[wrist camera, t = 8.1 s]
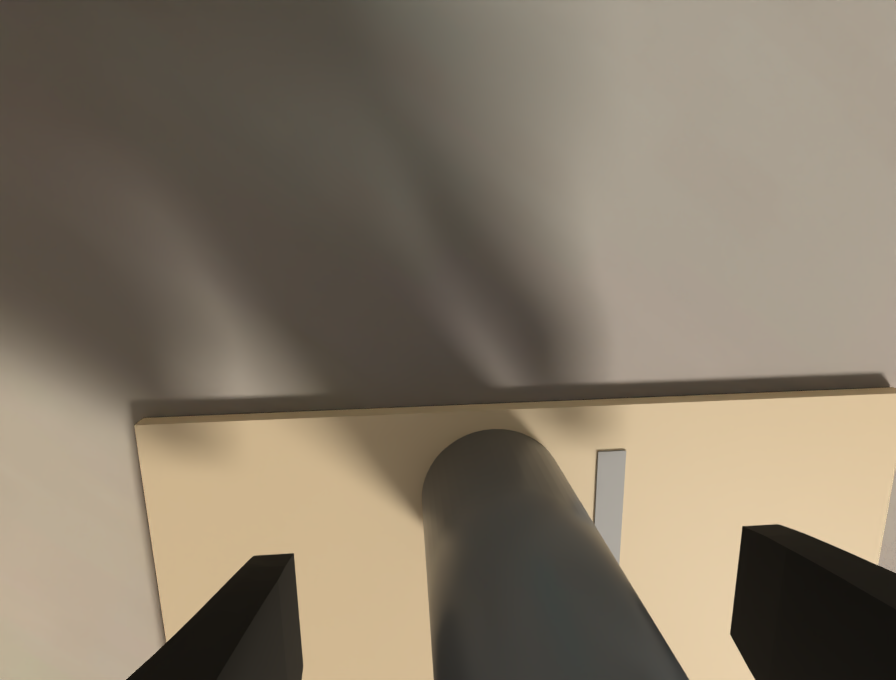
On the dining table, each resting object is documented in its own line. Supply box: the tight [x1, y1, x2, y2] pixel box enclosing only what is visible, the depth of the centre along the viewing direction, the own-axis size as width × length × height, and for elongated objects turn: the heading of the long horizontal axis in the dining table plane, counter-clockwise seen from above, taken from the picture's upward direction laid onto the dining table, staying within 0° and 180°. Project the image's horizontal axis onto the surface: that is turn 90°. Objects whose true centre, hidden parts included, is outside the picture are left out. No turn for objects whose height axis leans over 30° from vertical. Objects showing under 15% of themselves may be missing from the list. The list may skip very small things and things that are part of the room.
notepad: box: [134, 387, 896, 680], centre depth 13 cm, size 12×16×1 cm
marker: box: [422, 429, 689, 680], centre depth 8 cm, size 3×3×8 cm
